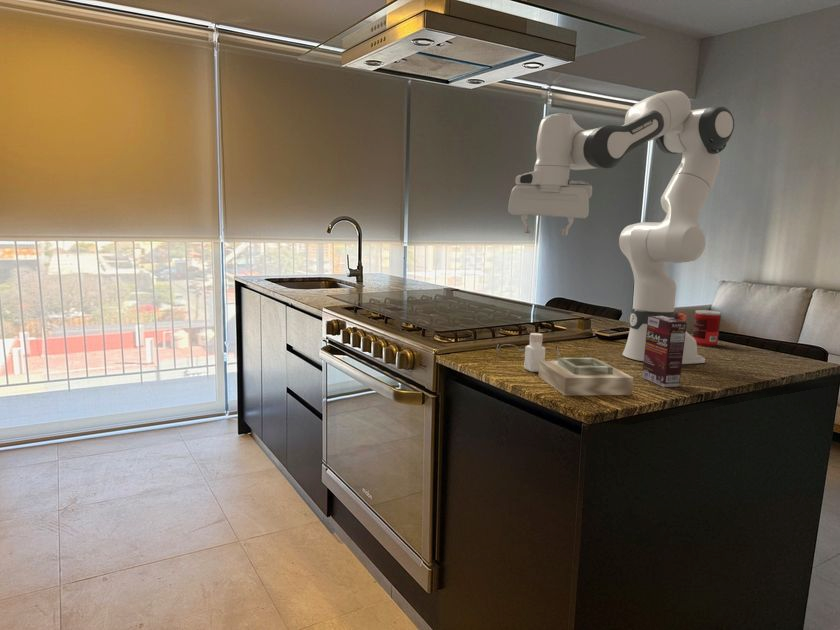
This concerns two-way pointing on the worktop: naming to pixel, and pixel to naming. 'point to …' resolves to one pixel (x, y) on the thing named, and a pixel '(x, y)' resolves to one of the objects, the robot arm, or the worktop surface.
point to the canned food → (706, 327)
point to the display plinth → (585, 377)
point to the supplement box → (664, 350)
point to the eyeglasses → (524, 350)
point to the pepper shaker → (534, 352)
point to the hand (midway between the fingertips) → (545, 234)
